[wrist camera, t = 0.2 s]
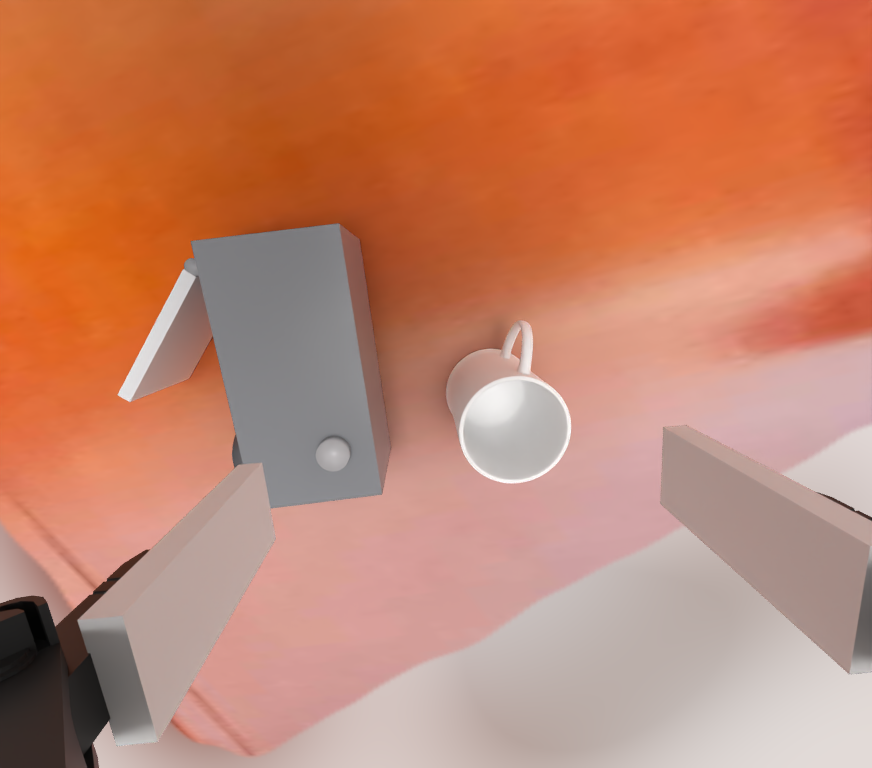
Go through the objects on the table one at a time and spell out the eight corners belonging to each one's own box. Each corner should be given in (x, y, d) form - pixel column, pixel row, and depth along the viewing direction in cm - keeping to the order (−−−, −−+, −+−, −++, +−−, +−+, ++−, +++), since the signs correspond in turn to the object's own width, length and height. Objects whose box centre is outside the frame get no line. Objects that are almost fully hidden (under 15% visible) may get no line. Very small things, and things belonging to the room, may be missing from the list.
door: (229, 256, 38) (177, 247, 30) (250, 269, 39) (204, 264, 30) (169, 367, 40) (105, 388, 32) (190, 379, 41) (131, 402, 32)
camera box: (227, 255, 38) (152, 243, 28) (359, 239, 39) (336, 221, 28) (272, 462, 43) (222, 520, 32) (391, 447, 43) (380, 500, 32)
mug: (471, 304, 40) (491, 311, 28) (556, 330, 41) (610, 347, 29) (435, 419, 43) (440, 470, 31) (515, 442, 43) (551, 499, 32)
